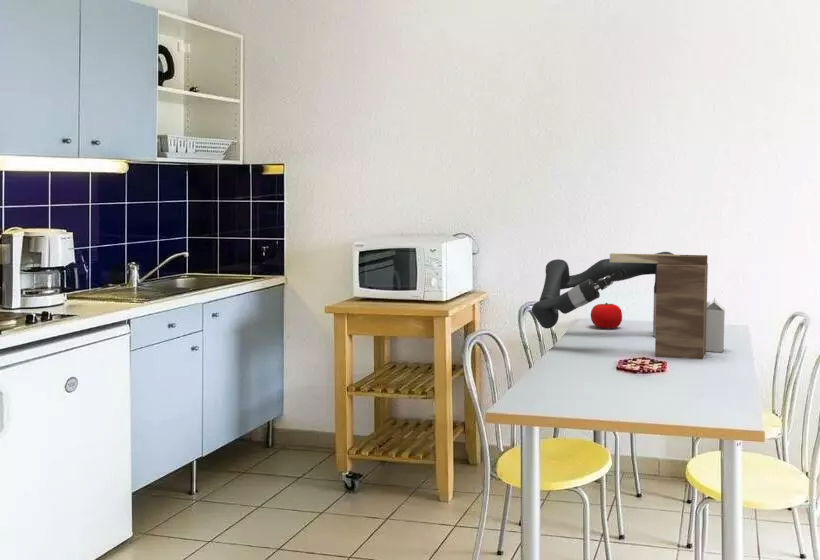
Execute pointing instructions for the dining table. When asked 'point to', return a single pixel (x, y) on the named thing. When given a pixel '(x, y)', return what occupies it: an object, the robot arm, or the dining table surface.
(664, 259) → the pedestal
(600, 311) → the tomato
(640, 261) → the wooden block
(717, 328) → the milk carton
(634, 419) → the dining table surface
